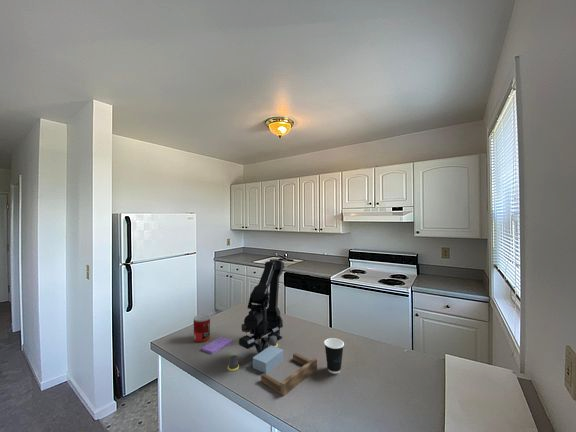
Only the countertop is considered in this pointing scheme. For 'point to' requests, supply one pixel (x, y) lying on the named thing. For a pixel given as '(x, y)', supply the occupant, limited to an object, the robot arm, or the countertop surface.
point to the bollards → (234, 359)
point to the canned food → (201, 328)
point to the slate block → (268, 359)
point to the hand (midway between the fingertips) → (259, 355)
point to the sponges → (216, 345)
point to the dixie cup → (334, 354)
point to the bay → (295, 377)
